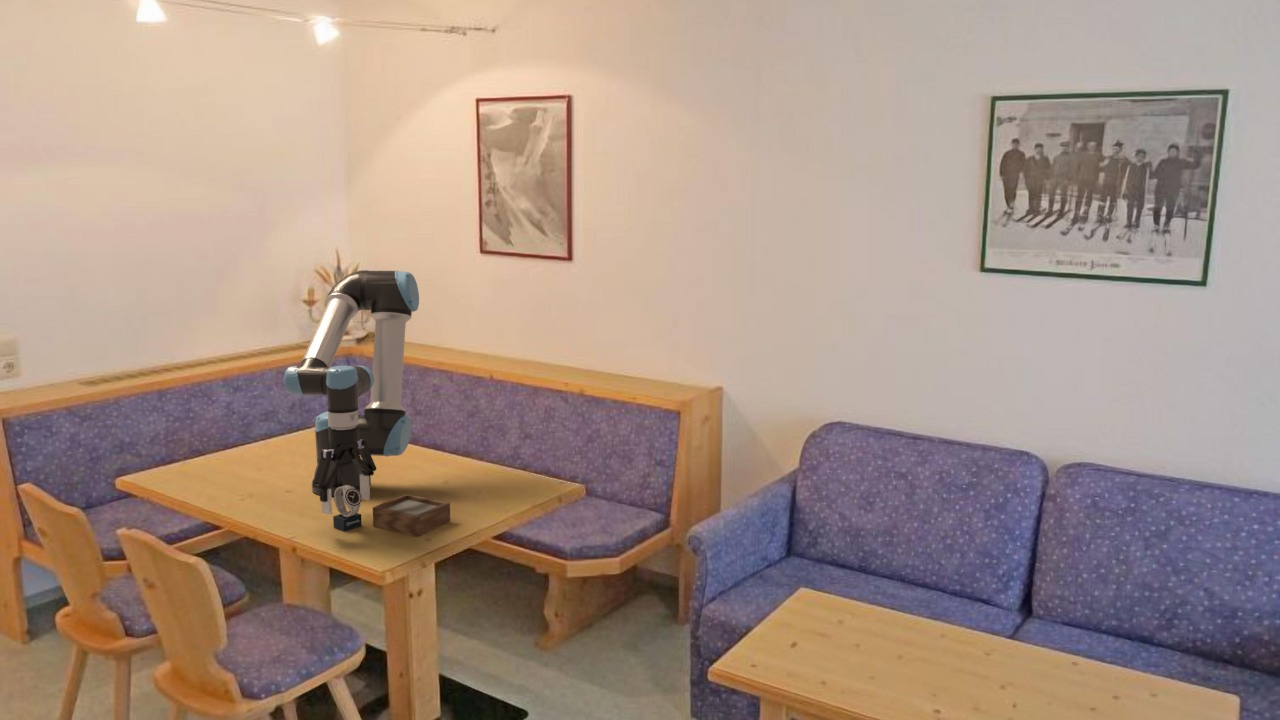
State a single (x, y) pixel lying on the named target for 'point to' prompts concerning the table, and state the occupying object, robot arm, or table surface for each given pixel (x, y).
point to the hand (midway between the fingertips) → (346, 506)
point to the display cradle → (411, 515)
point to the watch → (353, 502)
